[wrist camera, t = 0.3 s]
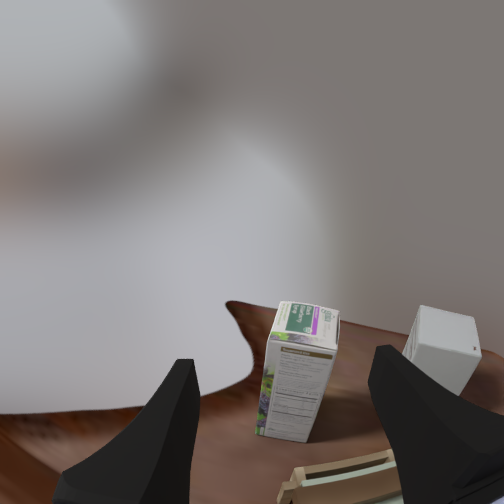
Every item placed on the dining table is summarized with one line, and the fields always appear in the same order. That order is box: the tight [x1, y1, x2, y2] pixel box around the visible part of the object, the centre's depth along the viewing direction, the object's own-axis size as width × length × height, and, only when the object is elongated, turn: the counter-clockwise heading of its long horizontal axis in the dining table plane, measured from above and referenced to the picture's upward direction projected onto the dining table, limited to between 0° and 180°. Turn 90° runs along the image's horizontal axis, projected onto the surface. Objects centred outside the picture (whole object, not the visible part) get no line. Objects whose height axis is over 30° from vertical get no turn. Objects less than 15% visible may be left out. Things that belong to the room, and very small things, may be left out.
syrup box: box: [255, 301, 340, 443], centre depth 29 cm, size 6×6×14 cm
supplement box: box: [402, 305, 482, 396], centre depth 31 cm, size 7×7×13 cm
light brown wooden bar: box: [291, 466, 402, 504], centre depth 19 cm, size 2×12×2 cm, turn 96°
